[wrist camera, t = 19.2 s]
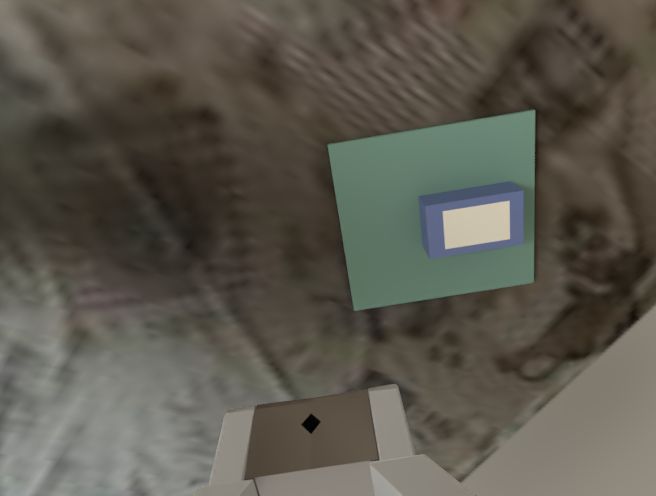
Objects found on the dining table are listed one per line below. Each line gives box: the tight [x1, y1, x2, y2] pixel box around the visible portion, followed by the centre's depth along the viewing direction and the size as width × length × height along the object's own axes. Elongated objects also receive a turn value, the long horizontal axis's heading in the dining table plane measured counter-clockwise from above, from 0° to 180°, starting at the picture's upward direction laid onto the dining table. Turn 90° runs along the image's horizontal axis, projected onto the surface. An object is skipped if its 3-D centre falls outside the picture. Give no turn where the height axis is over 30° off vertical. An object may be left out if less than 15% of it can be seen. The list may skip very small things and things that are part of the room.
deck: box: [418, 181, 523, 259], centre depth 37 cm, size 4×2×7 cm
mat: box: [327, 110, 535, 311], centre depth 38 cm, size 15×14×1 cm
